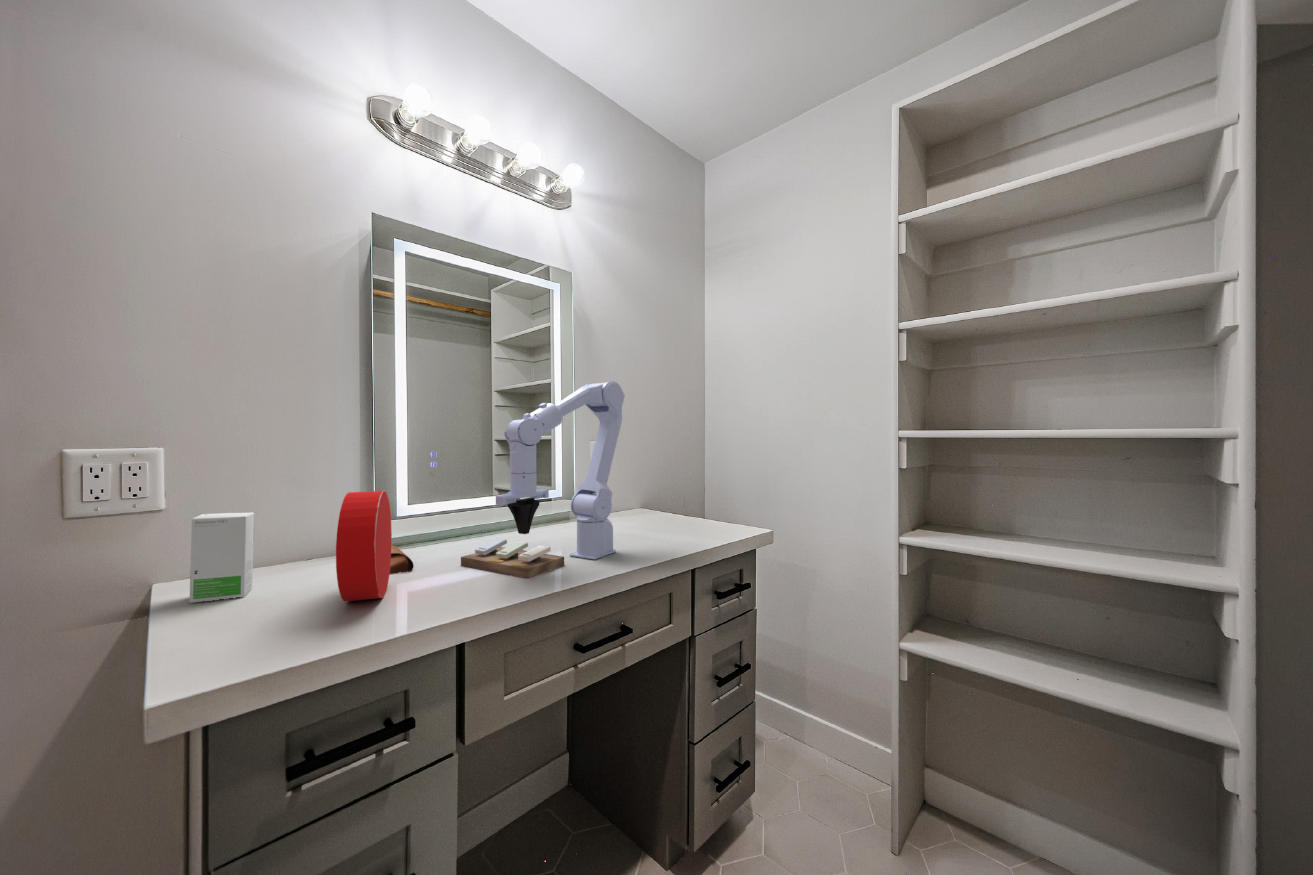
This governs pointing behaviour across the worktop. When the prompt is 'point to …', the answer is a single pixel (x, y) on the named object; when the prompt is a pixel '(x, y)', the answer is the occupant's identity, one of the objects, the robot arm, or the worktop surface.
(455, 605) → the worktop surface
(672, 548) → the worktop surface
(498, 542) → the bluegrey rocker
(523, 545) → the sage rocker
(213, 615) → the worktop surface
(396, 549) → the sunglasses case
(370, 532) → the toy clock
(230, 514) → the skincare box
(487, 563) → the switch panel
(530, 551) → the cream rocker
